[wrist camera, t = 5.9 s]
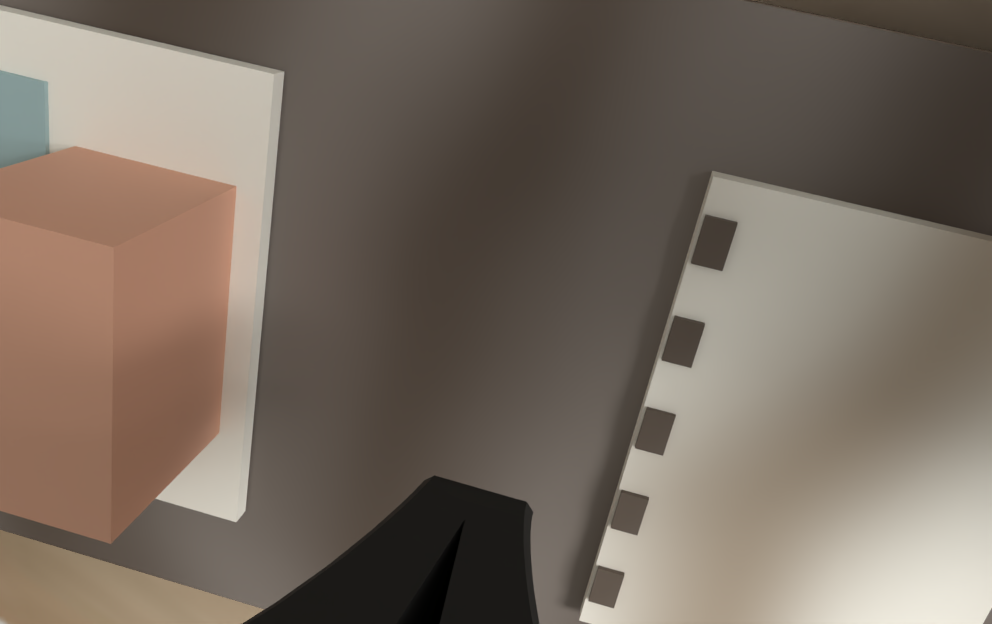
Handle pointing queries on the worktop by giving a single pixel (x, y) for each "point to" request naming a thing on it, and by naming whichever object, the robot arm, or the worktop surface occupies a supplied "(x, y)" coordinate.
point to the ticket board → (613, 303)
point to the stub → (129, 272)
